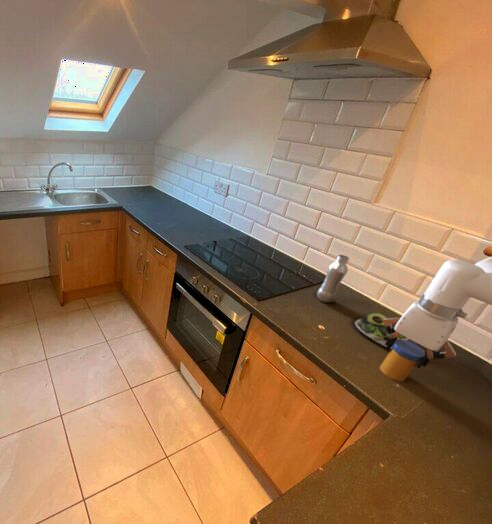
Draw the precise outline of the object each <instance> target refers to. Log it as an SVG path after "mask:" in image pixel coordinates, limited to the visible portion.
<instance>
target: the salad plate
mask: <svg viewBox="0 0 492 524" xmlns="http://www.w3.org/2000/svg"><path fill="white" fill-rule="evenodd" d="M386 318H388V317H387V316H386V315H385V314H383V313H380V312H370V313H368V314H366V316H363V317H361V318H359V319H356V320H355V321H354V322H353V325H354V328H355V330H356V331H357V332H358V333H359V334H360V335H362V336H363V337H365V338H367V339H369V340H370V341H372V342H373V343H376V344H377V345H379V346H380V347H383V348H385V349H386V347H387V346H386V345H385V344H386V342H387V340H388V339H389V334H388V332H387V330H386V326H385V324H384V320H385V319H386ZM391 324H392V326H393V328H395V326H396V325H395V324H394V323H391ZM394 330H395V329H394ZM397 339H402V340H406V341H409V342H411V343H413V344H415V345H417V346H418V347H420V348H421V349H422V350H423V351H424V353H426V350H424V349H423V347H421V345H420V344H418V343H416V342H414V341H412V340H410V339H408V338H406V337H404V336H402V335H400V336H398V337H397ZM391 349H392V347H391V348H390V349H389V350H388V351H390V350H391Z"/></svg>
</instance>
